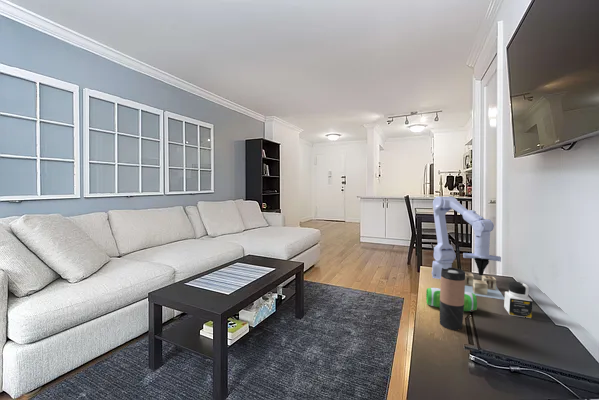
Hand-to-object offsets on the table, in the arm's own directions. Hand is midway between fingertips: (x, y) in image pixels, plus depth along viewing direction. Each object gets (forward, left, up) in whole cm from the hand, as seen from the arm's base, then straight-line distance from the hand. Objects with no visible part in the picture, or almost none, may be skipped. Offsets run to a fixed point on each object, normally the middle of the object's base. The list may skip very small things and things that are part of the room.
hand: (480, 274), depth 131 cm
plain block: (0, 0, -8) cm, 8 cm away
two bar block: (+5, +9, -8) cm, 13 cm away
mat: (+1, +5, -9) cm, 10 cm away
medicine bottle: (+10, -17, -9) cm, 22 cm away
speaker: (-14, -23, -9) cm, 28 cm away
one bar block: (-4, +10, -8) cm, 14 cm away
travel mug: (-15, -39, -9) cm, 43 cm away
